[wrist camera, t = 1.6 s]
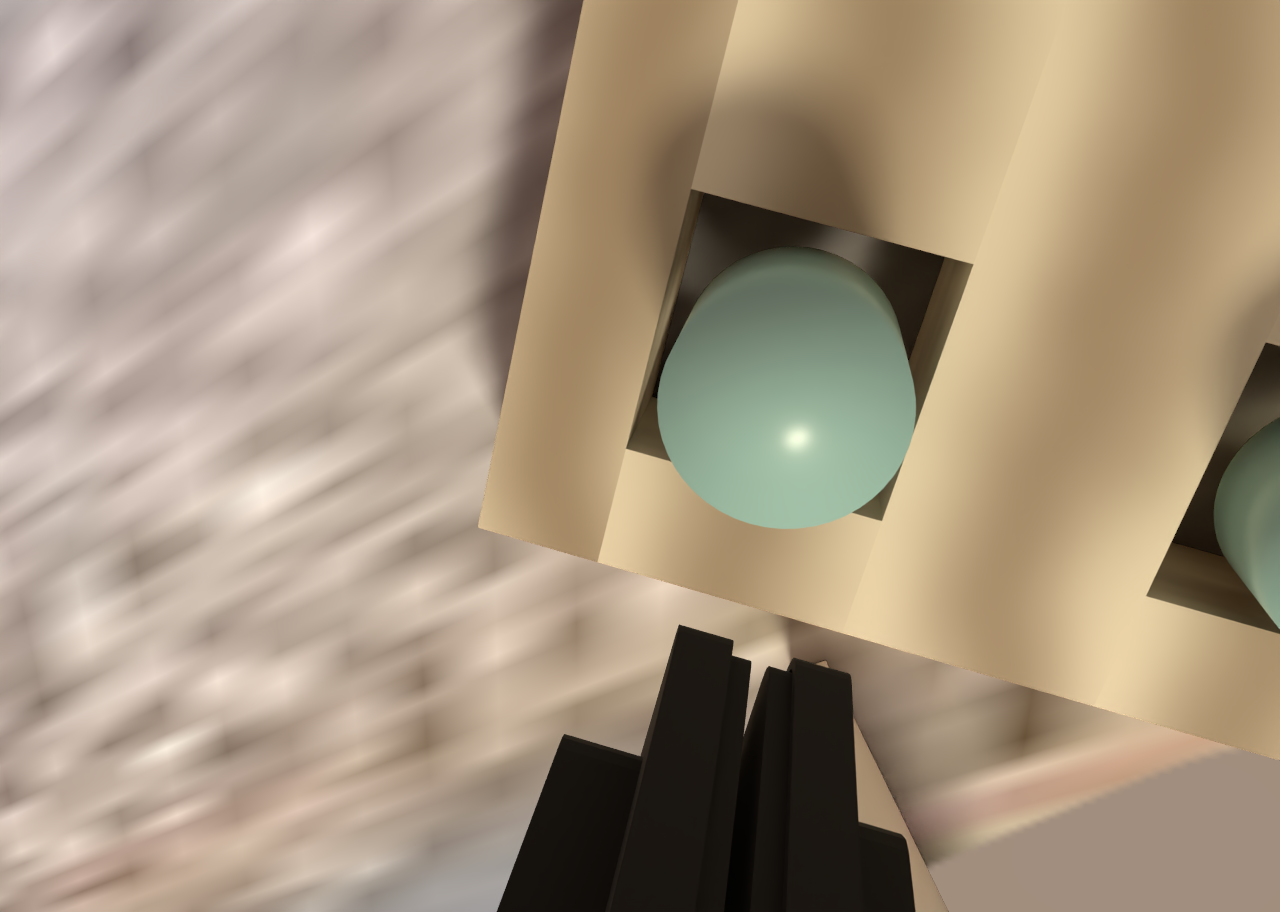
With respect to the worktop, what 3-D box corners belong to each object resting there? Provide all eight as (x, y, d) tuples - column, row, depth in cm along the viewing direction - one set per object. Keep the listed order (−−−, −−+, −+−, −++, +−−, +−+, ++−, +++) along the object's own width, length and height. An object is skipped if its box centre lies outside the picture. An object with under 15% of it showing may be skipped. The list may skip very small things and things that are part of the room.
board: (2057, -366, 20) (2340, -461, 16) (1400, 719, 29) (1485, 820, 25) (758, -650, 21) (743, -795, 18) (520, 468, 30) (477, 527, 27)
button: (933, 279, 23) (952, 324, 20) (863, 481, 25) (869, 558, 21) (713, 220, 24) (692, 254, 20) (660, 425, 25) (631, 490, 22)
